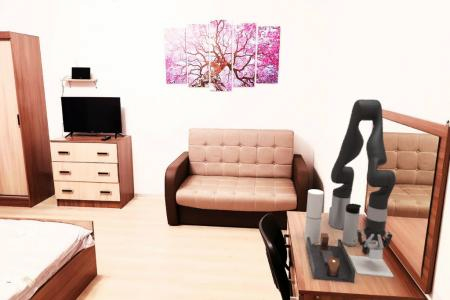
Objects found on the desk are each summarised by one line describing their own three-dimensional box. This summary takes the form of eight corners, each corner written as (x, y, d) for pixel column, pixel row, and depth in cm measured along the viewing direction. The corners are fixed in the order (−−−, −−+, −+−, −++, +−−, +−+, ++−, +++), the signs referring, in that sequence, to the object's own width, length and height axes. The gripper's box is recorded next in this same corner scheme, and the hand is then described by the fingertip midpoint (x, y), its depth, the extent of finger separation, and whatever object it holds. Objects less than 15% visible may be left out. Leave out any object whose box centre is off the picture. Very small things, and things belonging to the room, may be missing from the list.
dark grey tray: (306, 246, 155) (307, 231, 153) (339, 249, 153) (341, 234, 151) (313, 278, 130) (315, 261, 128) (353, 282, 128) (355, 265, 126)
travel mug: (357, 247, 155) (362, 207, 151) (343, 245, 156) (347, 206, 152) (355, 241, 161) (359, 203, 157) (341, 239, 162) (345, 201, 158)
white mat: (349, 256, 147) (349, 255, 147) (381, 259, 145) (382, 258, 145) (357, 274, 133) (357, 273, 133) (393, 277, 132) (393, 276, 131)
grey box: (362, 247, 142) (363, 237, 141) (374, 248, 142) (376, 238, 141) (368, 258, 134) (370, 248, 133) (381, 259, 133) (383, 249, 132)
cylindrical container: (303, 241, 160) (307, 193, 154) (305, 235, 166) (309, 188, 161) (318, 244, 157) (322, 195, 152) (320, 238, 163) (324, 190, 158)
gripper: (391, 214, 137) (386, 251, 141) (355, 212, 139) (351, 248, 142) (398, 222, 130) (392, 260, 133) (360, 219, 132) (356, 257, 135)
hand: (371, 254), depth 138 cm, fingers closed on grey box, 5 cm apart
